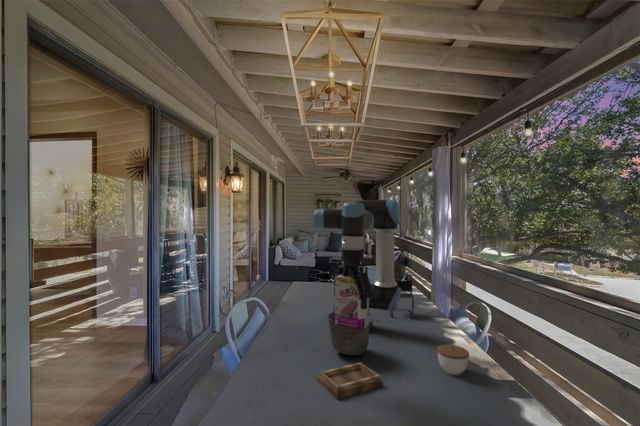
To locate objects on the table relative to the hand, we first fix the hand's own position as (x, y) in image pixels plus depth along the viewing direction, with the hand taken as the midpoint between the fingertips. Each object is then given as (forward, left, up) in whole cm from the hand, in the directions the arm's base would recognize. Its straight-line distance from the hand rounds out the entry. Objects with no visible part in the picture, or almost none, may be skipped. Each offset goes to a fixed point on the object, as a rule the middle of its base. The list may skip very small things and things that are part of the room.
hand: (351, 313), depth 109 cm
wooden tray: (0, 0, -23) cm, 23 cm away
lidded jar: (-39, +10, -24) cm, 47 cm away
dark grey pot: (-13, -20, -24) cm, 34 cm away
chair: (-71, -51, -24) cm, 91 cm away
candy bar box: (0, 0, -4) cm, 4 cm away
